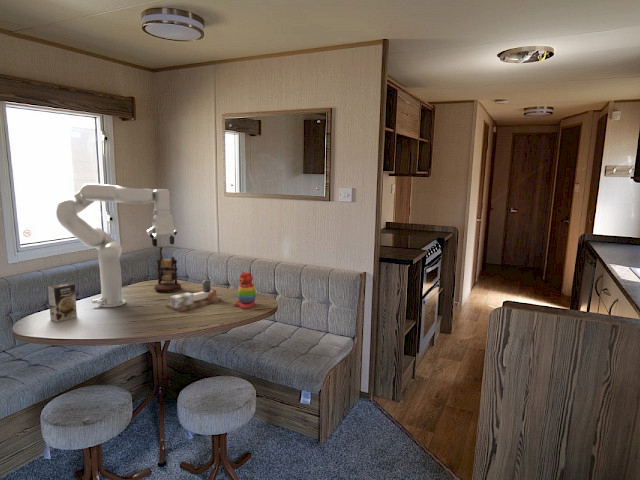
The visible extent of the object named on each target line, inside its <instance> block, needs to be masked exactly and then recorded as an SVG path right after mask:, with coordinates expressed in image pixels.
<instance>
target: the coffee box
mask: <svg viewBox="0 0 640 480" xmlns="http://www.w3.org/2000/svg"><path fill="white" fill-rule="evenodd" d="M48 298H49V299H48V301H49V315H50V316H49V317H50V320H51V321H53V322H56V323H59V322H60V323H61V322H64V321H67V320H71V319H75V318H77V317H78V314H77V313H78V312H77V298H76V284H75V283H72V282H66V283H65V282H64V283H60V284H53V285H48Z"/></svg>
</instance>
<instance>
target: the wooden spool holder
mask: <svg viewBox="0 0 640 480" xmlns="http://www.w3.org/2000/svg"><path fill="white" fill-rule="evenodd" d="M177 262H178V260H177V259H175V257H174V256H172V257H171V258H163V256H160V257H159V259H157V260H156V263H157V269H156V270H157V284H155V285H154V290H155V291H156V293H158V292H159V291H160V292H170V291H172V293H175V291H176V290H179V289H181V288H182V284H181V283H179V282H178V273H177V271H178V266H177Z"/></svg>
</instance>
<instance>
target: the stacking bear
mask: <svg viewBox="0 0 640 480" xmlns="http://www.w3.org/2000/svg"><path fill="white" fill-rule="evenodd" d="M253 279H254V278H253V275H252V273H250V272H245V271H242V273H241V274H240V276H239V277H238V280H239V286H238V289H237V298H238V300H236V301H234V304H233V306H234V307H238V308H241V309H242V310H250V309H253V308H254V307H255V306H256V302H255V301H256V296H257V292H256V287H255V284H254V283H253Z"/></svg>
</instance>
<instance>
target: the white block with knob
mask: <svg viewBox="0 0 640 480" xmlns="http://www.w3.org/2000/svg"><path fill="white" fill-rule="evenodd" d="M211 286H212V285H211V279H203V280H202V291H199V292H194V293H192V294H193V301H195V300H199V299H203V298H207V297H208V294H210V293H213V291H212V290H211V289H212V288H211Z"/></svg>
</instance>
